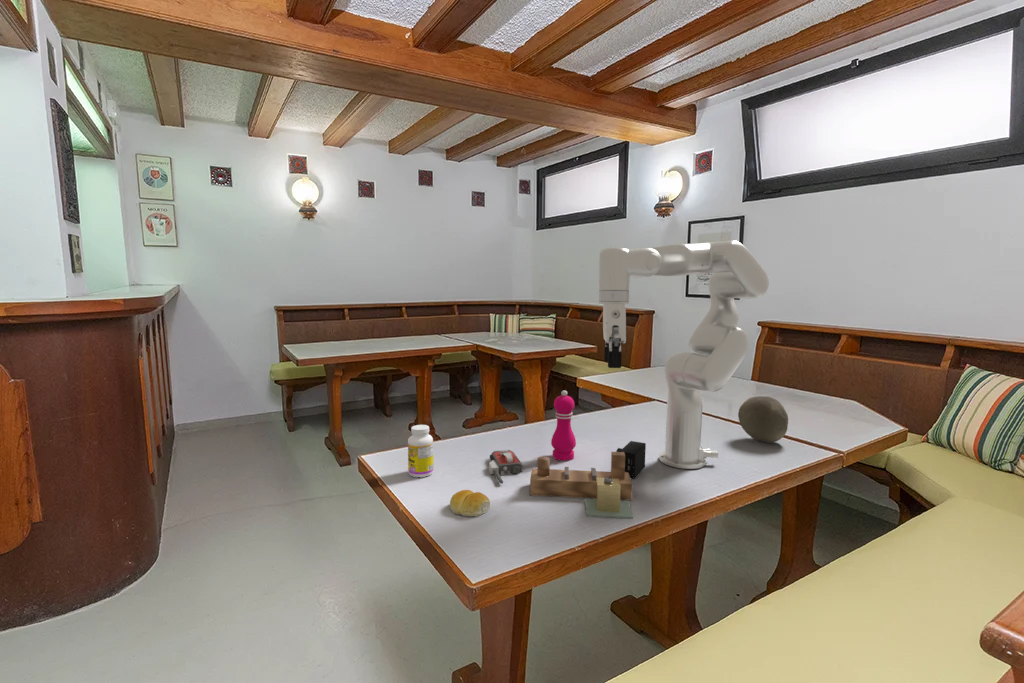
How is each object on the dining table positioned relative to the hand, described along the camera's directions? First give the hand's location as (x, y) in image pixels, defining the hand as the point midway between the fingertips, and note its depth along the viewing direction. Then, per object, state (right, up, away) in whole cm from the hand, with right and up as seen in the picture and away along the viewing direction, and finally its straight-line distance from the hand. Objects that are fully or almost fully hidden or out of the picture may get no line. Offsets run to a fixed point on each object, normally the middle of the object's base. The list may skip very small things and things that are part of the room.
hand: (612, 364), depth 126 cm
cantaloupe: (+55, -27, +33) cm, 70 cm away
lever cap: (-4, -32, -15) cm, 35 cm away
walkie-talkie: (-28, -30, +8) cm, 42 cm away
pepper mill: (-11, -28, +19) cm, 36 cm away
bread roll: (-35, -32, -15) cm, 50 cm away
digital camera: (+6, -30, +8) cm, 31 cm away
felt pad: (-4, -32, -15) cm, 36 cm away
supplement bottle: (-50, -30, +6) cm, 59 cm away
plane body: (-9, -31, -5) cm, 33 cm away
